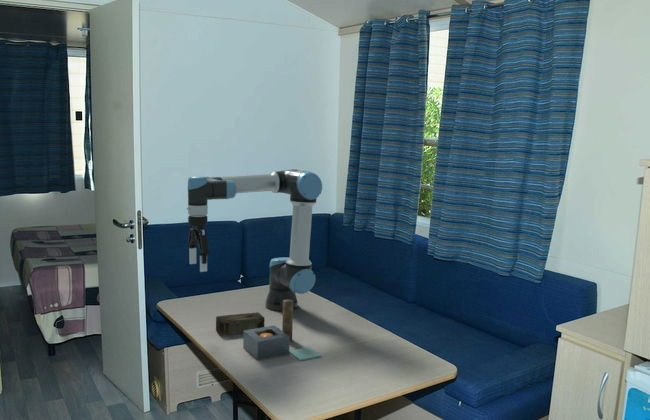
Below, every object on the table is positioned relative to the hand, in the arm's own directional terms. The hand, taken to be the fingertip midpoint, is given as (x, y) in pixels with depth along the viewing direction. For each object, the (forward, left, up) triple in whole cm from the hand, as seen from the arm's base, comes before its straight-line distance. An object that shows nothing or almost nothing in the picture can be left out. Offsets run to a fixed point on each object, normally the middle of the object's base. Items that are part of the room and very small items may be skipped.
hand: (198, 267), depth 240 cm
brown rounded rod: (-28, +24, -27) cm, 46 cm away
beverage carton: (-16, +6, -27) cm, 32 cm away
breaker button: (-16, +31, -26) cm, 43 cm away
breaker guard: (-16, +31, -27) cm, 44 cm away
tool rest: (-27, +41, -27) cm, 56 cm away
